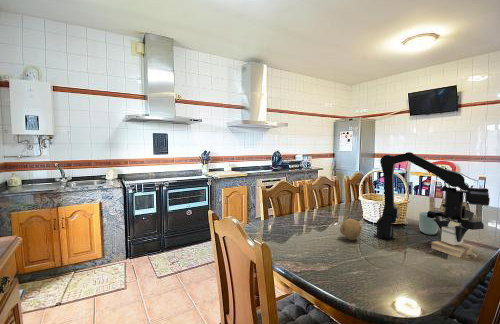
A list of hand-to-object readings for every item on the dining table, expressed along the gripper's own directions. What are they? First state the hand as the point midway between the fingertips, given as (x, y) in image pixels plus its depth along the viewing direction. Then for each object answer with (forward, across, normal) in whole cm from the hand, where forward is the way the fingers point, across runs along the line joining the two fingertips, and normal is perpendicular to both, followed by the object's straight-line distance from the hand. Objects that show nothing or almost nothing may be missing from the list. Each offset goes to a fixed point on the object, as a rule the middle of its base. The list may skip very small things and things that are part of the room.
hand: (452, 239), depth 101 cm
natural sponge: (+5, +20, +34) cm, 40 cm away
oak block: (+5, 0, 0) cm, 5 cm away
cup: (+5, +19, -10) cm, 22 cm away
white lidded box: (+1, 0, 0) cm, 1 cm away
